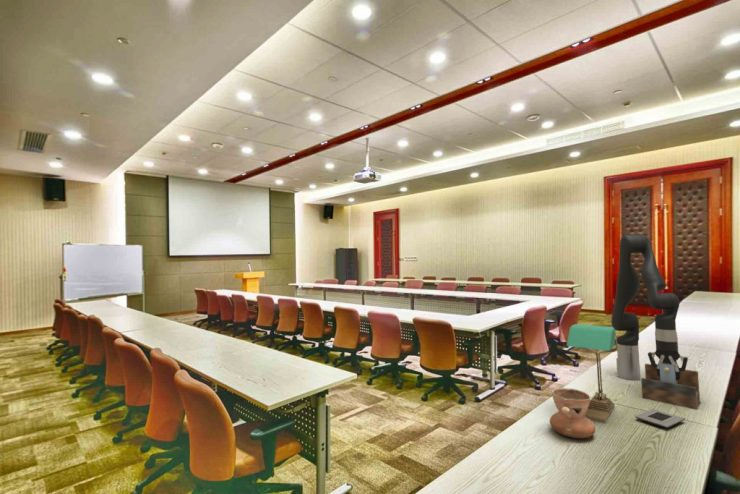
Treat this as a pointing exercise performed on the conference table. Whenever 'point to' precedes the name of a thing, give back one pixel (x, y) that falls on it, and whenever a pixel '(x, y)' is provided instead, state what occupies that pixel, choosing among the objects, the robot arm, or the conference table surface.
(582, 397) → the ceramic jug
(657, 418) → the electrical outlet
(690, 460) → the conference table surface
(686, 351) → the conference table surface
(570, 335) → the banker's lamp
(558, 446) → the conference table surface
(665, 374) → the cabinet block
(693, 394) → the board
